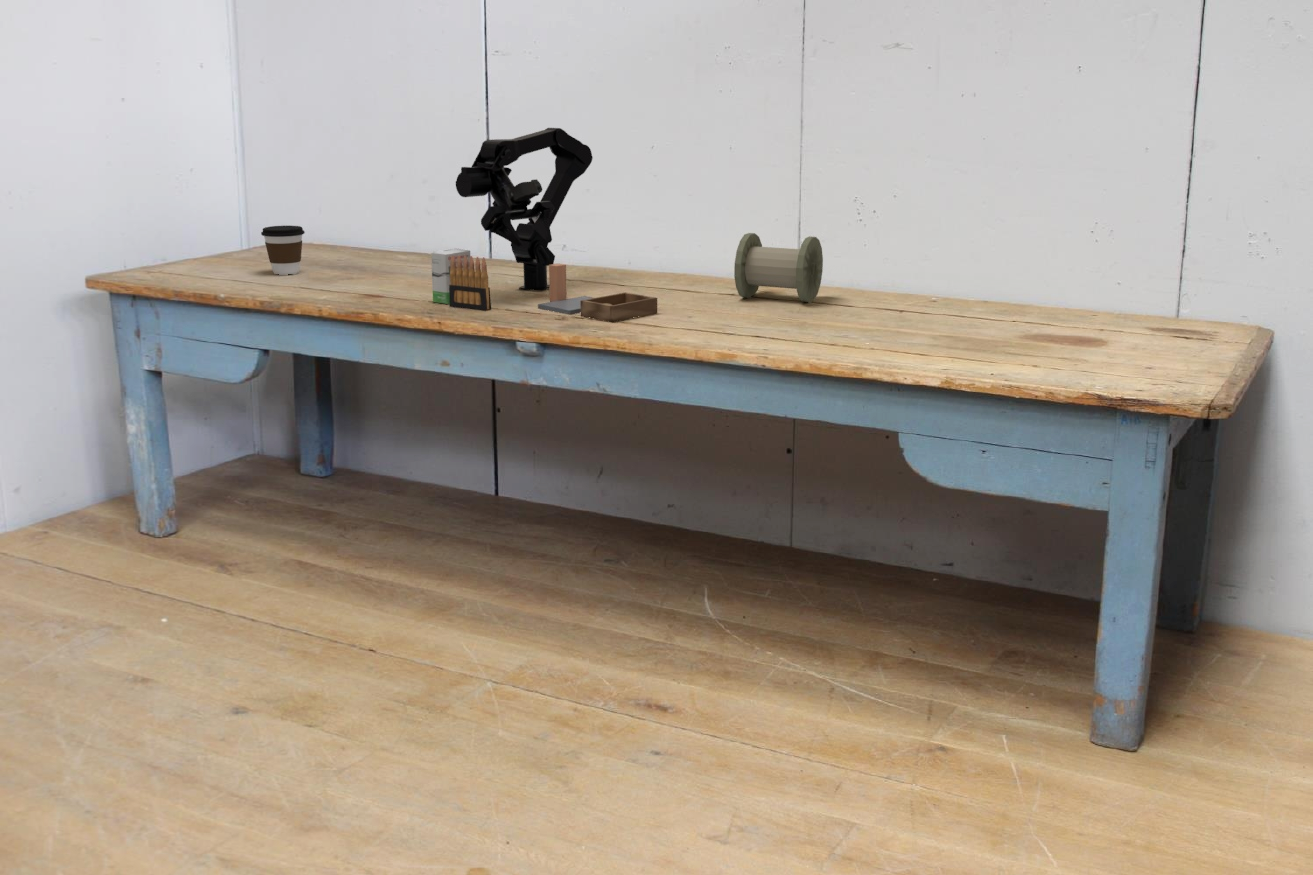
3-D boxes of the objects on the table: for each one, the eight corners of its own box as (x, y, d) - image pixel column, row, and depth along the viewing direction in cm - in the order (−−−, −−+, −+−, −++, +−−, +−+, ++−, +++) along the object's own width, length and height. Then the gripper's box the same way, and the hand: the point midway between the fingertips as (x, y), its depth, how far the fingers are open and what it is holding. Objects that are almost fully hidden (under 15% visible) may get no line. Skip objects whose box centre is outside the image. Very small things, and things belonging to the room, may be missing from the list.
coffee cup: (316, 272, 343) (313, 227, 340) (284, 278, 334) (280, 231, 331) (287, 269, 349) (284, 224, 346) (255, 274, 340) (251, 228, 337)
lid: (530, 307, 296) (529, 267, 293) (577, 298, 306) (577, 260, 303) (569, 315, 287) (569, 274, 285) (616, 306, 297) (616, 267, 295)
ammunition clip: (491, 309, 293) (489, 256, 289) (486, 311, 291) (484, 258, 288) (454, 305, 298) (451, 253, 295) (449, 306, 296) (446, 254, 293)
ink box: (447, 304, 299) (444, 253, 295) (431, 302, 302) (429, 251, 298) (473, 299, 305) (471, 249, 302) (458, 297, 308) (455, 247, 305)
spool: (821, 296, 308) (823, 233, 304) (801, 307, 295) (803, 241, 291) (756, 291, 315) (757, 230, 311) (733, 302, 302) (734, 237, 298)
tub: (580, 316, 285) (580, 300, 284) (625, 307, 295) (625, 292, 294) (612, 322, 279) (612, 306, 278) (657, 313, 288) (657, 297, 287)
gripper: (487, 170, 291) (520, 224, 287) (549, 166, 304) (581, 217, 300) (466, 203, 298) (498, 256, 294) (527, 197, 311) (559, 248, 307)
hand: (535, 243), depth 299 cm, fingers open, 9 cm apart
